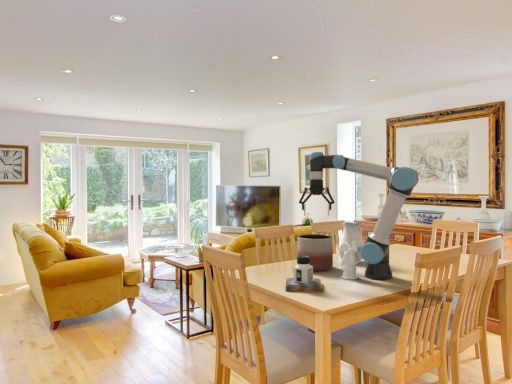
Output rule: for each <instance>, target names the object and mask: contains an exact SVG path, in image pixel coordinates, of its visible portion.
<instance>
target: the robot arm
mask: <svg viewBox="0 0 512 384" xmlns="http://www.w3.org/2000/svg"><path fill="white" fill-rule="evenodd" d="M309 154H310V155H309V179H310V180H309V187H304V191H303V193H302V194H301V197H300V199H299V200H298V203H299V204H301V210H302V211H303V216H304V217H306V202H307V201H308V200H309V199H310V198H311V196H320V195H321V197H322V198H323V199H324V200H325V201H326V202H327V203H328V204H327V217H330V211H331V210H332V205H333V204H335V200H334V199H333V198H334V197H333V196H332V194H331V192H330V189H329V187H324V169H325V170H326V169H335V170H336V169H338V170H342V171H346V172H351V173H355V174H359V175H363V176H367V177H370V178H375V179H379V180H382V181H383V180H384V181H387V182H389V185H388V186H387V190H388V191H389V192H388V194H387V197H386V200H385V202H384V205H383V207H382V209H381V211H380V214H379V216H378V219H377V221H376V224H375V226H374V229H373V231H372V232H371V233H370V234H368V235H367V238H366V239H365V242H364V245H363V246H362V248H361V256H362V260H364V262H366V263H367V265H366V268H365V270H364V277H365V278H367V279H372V280H381V281H382V280H392V279H393V272H392V268H391V265H390V243H391V242H390V236H391V233H392V231H393V229H394V226H395V225H396V222H397V219H398V217H399V215H400V212H401V210H402V207H403V205H404V203H405V201H406V199H407V198H409V197H411V194H412V192H413V190H414V188H415V187H416V186H417V184H418V183H419V174H418V172H417V171H416V170H415V169H413V168H411V167H408V166H402V167H398V166H394V167H390V166H386V165H381V164H376V163H373V162H368V161H364V160H358V159H355V158H349V157H345V156H344V155H343V154H329V155H324V153H323V151H313V152H310V153H309ZM308 191H310V193H309V194H308V195H307V196H306V197H305V195H306V193H307V192H308ZM324 191H325V192H326V193H327V195H328V198H327V196H326V195H325V194H324ZM303 199H304V200H303Z"/></svg>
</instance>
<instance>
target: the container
mask: <svg viewBox="0 0 512 384" xmlns="http://www.w3.org/2000/svg"><path fill="white" fill-rule="evenodd" d="M309 265H310V258H309V257H308V256H299V257H296V266H294V267H293V278H294V282H297V283H305V284H308V283H310V282H311V281H313V278H314V271H313V266H309Z"/></svg>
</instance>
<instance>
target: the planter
mask: <svg viewBox="0 0 512 384" xmlns="http://www.w3.org/2000/svg"><path fill="white" fill-rule="evenodd" d="M333 240H334V239H333V236H331V235H330V234H329V235H328V234H321V233H320V234H316V233H315V234H314V233H313V234H312V233H309V234H307V233H306V234H301V235H298V236H297V255H296V256H297V257H299V256H308V257H309V258H310V265H309V266H313V272H325V271H330V270H331V269H332V268H333V265H334V261H333V259H334V258H333V257H334V256H333V254H334V253H333V249H334V248H333ZM297 257H296V258H297Z"/></svg>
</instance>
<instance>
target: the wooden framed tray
mask: <svg viewBox="0 0 512 384" xmlns="http://www.w3.org/2000/svg"><path fill="white" fill-rule="evenodd" d="M285 292H301V293H302V292H306V293H312V292H313V293H314V292H315V293H323V285H322V282H321V278H318V277H317V278H315V277H313V281H311V282H310V283H308V284H305V283H297V282H294V277H288V278H286V280H285Z"/></svg>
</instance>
